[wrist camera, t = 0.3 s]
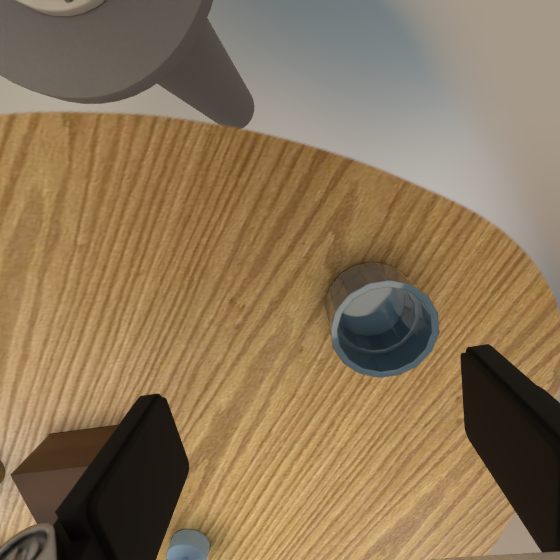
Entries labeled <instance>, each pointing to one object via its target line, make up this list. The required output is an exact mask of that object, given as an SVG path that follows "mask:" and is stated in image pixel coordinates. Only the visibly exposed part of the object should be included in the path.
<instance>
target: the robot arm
mask: <svg viewBox="0 0 560 560" xmlns="http://www.w3.org/2000/svg"><path fill="white" fill-rule="evenodd" d="M16 1H17V2H19V3H21V4H22V5H24V6H26V7H28V8H30V9H33V10H35V11H37V12H40V13H44V14H48V15H51V16H73V15H78V14H83V13H85V12H87V11H90V10H92V9H94V8H96V7H98V6H99V5H100V4H101V3H103V2H104V1H105V0H16ZM461 373H462V390H463V407H464V424H465V431H466V434H467V437H468V439H469V441H470V442H471V444H472V445H473V447H474V448H475V450H476V451H477V453H478V455H479V456H480V458H481V459H482V461H483V462H484V464H485V465H486V467H487V468H488V470H489V471H490V473H491V475H492V476H493V478H494V479H495V481H496V482H497V484H498V485H499V487H500V488H501V490H502V491H503V493H504V495H505V496H506V498H507V499H508V501H509V502H510V504H511V505H512V507H513V508H514V510H515V511H516V513H517V515H518V516H519V518H520V519H521V521H522V522H523V524H524V525H525V527H526V528H527V530H528V531H529V533H530V535H531V536H532V537H533V539H534V541H535V542H536V544H537V545H538V547H539V548H540V550H541V551H542V553H524V554H507V555H488V556H472V557H459V558H446V559H432V560H560V403H559V402H558V401H557V400H556V399H554V398H553V397H552V396H551V395H550V394H549V393H547V392H546V391H545V390H544V389H542V388H541V387H539V386H537V385H535V384H534V383H533V382H532V381H531V380H530V379H529V378H527V377H526V376H525V375H524V374H523V373H522V372H521V371H519V370H518V369H517V368H516V367H515V366H514V365H513V364H511V363H510V362H509V361H508V360H507V359H506V358H505V357H503V356H502V355H501V354H500V353H499V352H498V351H496V350H495V349H494V348H493V347H492V346H490V345H488V344H486V345H480V346H473V347H468V348H467V349H466V353H462V354H461ZM188 472H189V462H188V458H187V456H186V453H185V450H184V447H183V444H182V442H181V439H180V436H179V433H178V430H177V427H176V425H175V422H174V419H173V416H172V413H171V411H170V408H169V405H168V402H167V400H166V398H164V397H161V395H160V394H151V395H144V396H140V397H139V398H138V399H137V401H136V402H135V403H134V405H133V406H132V408H131V409H130V410H129V412H128V413H127V414H126V416H125V417H124V418H123V420H122V421H121V423H120V424H119V425H118V427H117V428H116V429H115V431H114V432H113V434H112V435H111V436H110V438H109V439H108V440H107V442H106V443H105V444H104V446H103V447H102V449H101V450H100V451H99V453H98V454H97V455H96V457H95V458H94V459H93V461H92V462H91V464H90V465H89V466H88V468H87V469H86V470H85V472H84V473H83V475H82V476H81V477H80V479H79V480H78V481H77V483H76V484H75V485H74V487H73V488H72V490H71V491H70V492H69V494H68V495H67V496H66V498H65V499H64V500H63V502H62V503H61V505H60V506H59V507H58V509H57V510H56V511H55V513H56V515H57V517H58V519H57V520H56V522H55V523H54V525H53V526H52V525H50V524H48V523H40V524H37V525H33V526H30V527H28V528H26V529H24V530H23V531H21V532H19V533H18V534H16V535H15V536H13V537H12V538H10V539H9V540H8V541H7V542H5V543H4V544H3V545H2V546H1V547H0V560H156V558H157V555H158V552H159V550H160V547H161V544H162V542H163V539H164V536H165V534H166V531H167V528H168V526H169V523H170V520H171V518H172V515H173V512H174V510H175V507H176V505H177V502H178V499H179V497H180V494H181V491H182V489H183V486H184V483H185V481H186V478H187V475H188Z"/></svg>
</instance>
